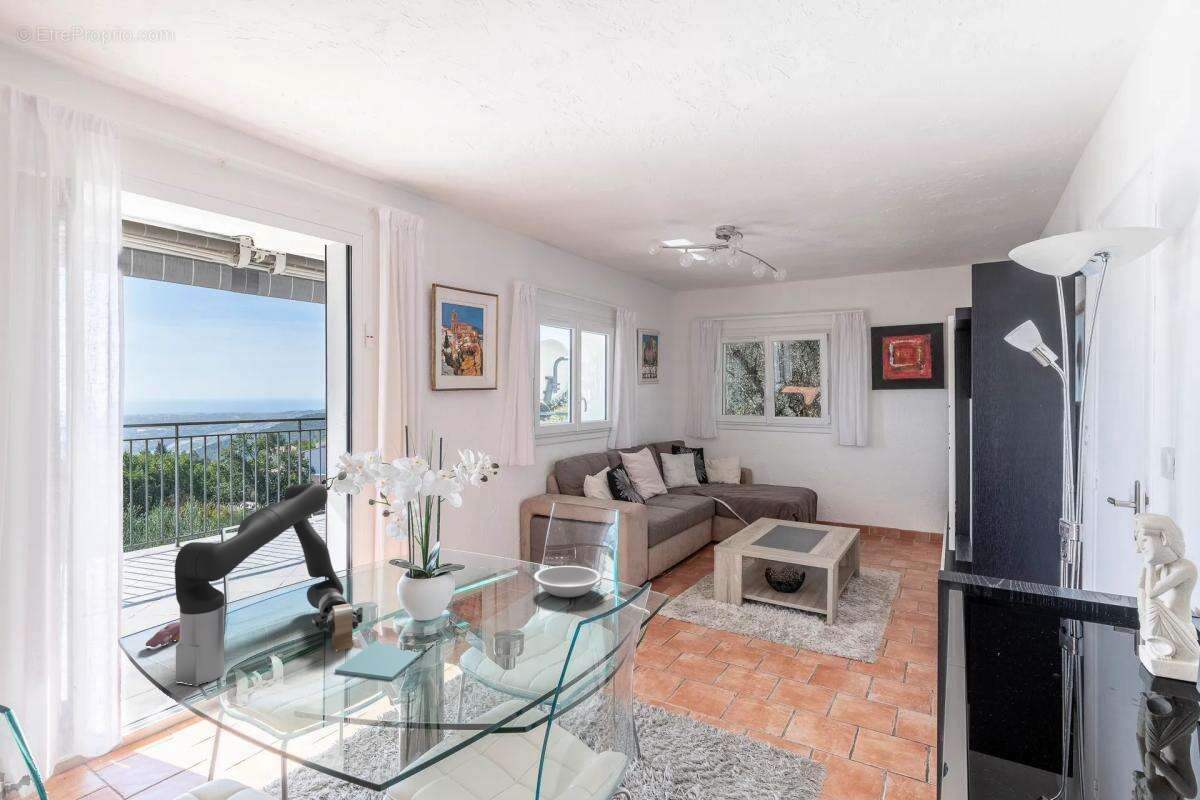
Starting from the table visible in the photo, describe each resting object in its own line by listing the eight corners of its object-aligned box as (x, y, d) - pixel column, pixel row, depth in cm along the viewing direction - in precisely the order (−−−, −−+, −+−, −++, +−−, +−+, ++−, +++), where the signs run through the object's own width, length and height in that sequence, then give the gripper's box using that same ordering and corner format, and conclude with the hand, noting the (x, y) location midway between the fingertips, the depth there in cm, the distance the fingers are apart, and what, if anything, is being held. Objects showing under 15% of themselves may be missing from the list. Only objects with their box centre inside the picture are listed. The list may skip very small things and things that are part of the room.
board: (392, 680, 149) (392, 677, 149) (335, 672, 152) (335, 669, 152) (435, 643, 171) (435, 641, 171) (384, 637, 174) (384, 635, 174)
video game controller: (154, 657, 163) (164, 635, 162) (142, 648, 164) (151, 626, 163) (186, 642, 173) (195, 621, 172) (174, 633, 174) (183, 613, 173)
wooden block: (352, 647, 167) (352, 608, 167) (334, 651, 165) (335, 611, 165) (349, 641, 171) (349, 603, 171) (332, 645, 169) (332, 606, 168)
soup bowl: (578, 611, 198) (578, 591, 198) (519, 597, 210) (519, 578, 209) (613, 590, 218) (613, 572, 218) (558, 579, 230) (558, 562, 230)
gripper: (307, 599, 176) (315, 619, 162) (359, 591, 184) (371, 609, 169) (307, 625, 176) (315, 646, 162) (359, 616, 184) (371, 635, 169)
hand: (344, 627), depth 166 cm, fingers open, 5 cm apart
